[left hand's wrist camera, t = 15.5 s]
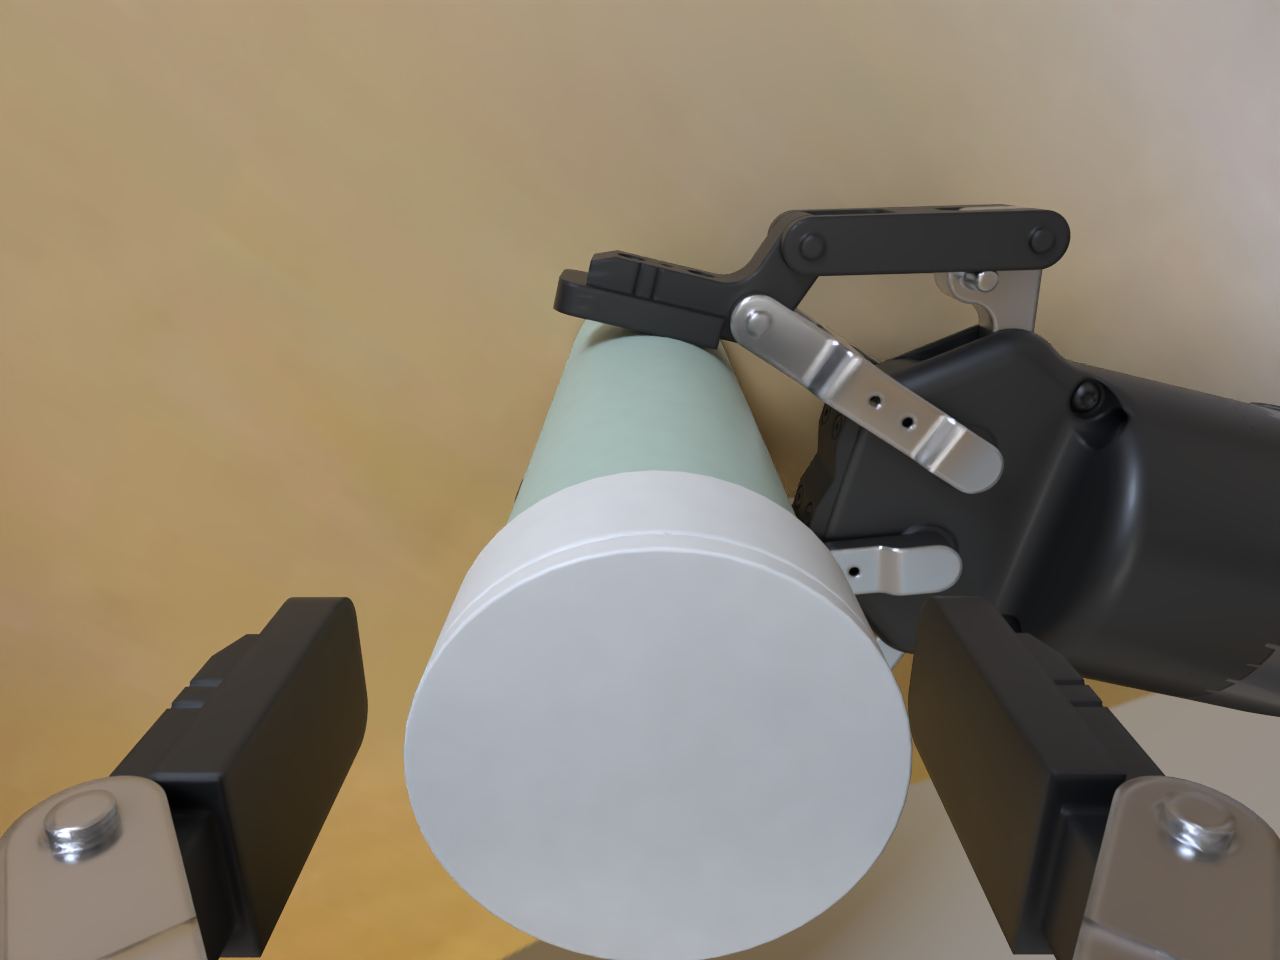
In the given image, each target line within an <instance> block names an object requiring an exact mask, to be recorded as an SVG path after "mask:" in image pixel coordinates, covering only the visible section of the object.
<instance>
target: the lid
mask: <svg viewBox="0 0 1280 960" xmlns="http://www.w3.org/2000/svg"><path fill="white" fill-rule="evenodd" d="M404 767H405V780H406V784H407V789H408V794H409V798H410V803H411V807H412V809H413V812H414V815H415V817H416V820H417V822H418V825H419V828H420V830H421V832H422V834H423V836H424V838H425V839H426V841H427V843H428V845H429V847H430V848H431V850H432V852H433V854H434V855H435V857H436V858H437V859H438V861H439V862H440V863H441V864H442V866H443V867H444V868H445V870H446V871H447V872H448V874H449V875H450V876H451V877H452V878H453V879H454V880H455V881H456V882H457V883H458V884H459V885H460V886H461V887H462V889H463V890H464V891H465V892H466V893H467V894H468V895H469V896H470V897H472V898H473V899H474V900H476V901H477V902H478V903H479V904H481V905H482V906H483V907H484V908H486V909H487V910H488V911H489V912H491V913H492V914H493V915H495V916H497V917H498V918H500V919H502V920H503V921H505V922H507V923H508V924H510V925H511V926H513V927H515V928H516V929H518V930H520V931H522V932H525V933H527V934H529V935H531V936H533V937H535V938H537V939H539V940H541V941H544V942H547V943H549V944H552V945H555V946H558V947H561V948H564V949H567V950H569V951H573V952H577V953H581V954H585V955H590V956H594V957H598V958H604V959H611V960H702V959H709V958H716V957H720V956H724V955H728V954H732V953H736V952H740V951H744V950H748V949H750V948H753V947H756V946H759V945H761V944H764V943H767V942H770V941H772V940H775V939H777V938H779V937H781V936H783V935H785V934H787V933H789V932H791V931H793V930H795V929H797V928H799V927H801V926H803V925H804V924H806V923H808V922H809V921H811V920H812V919H814V918H816V917H817V916H819V915H820V914H822V913H823V912H825V911H826V910H828V909H829V908H830V907H831V906H832V905H834V904H835V903H836V902H837V901H839V900H840V899H841V898H842V897H844V896H845V895H846V894H847V893H848V892H849V891H850V890H851V889H852V888H853V887H854V886H855V885H856V884H857V883H858V882H859V881H860V880H861V879H862V878H863V877H864V876H865V875H866V874H867V872H868V871H869V870H870V868H871V867H872V866H873V864H874V863H875V862H876V860H877V859H878V858H879V856H880V855H881V853H882V852H883V851H884V849H885V847H886V845H887V843H888V841H889V840H890V838H891V836H892V834H893V832H894V830H895V829H896V827H897V824H898V821H899V818H900V816H901V813H902V810H903V808H904V805H905V802H906V797H907V792H908V787H909V783H910V778H911V769H912V738H911V730H910V722H909V716H908V713H907V710H906V706H905V703H904V699H903V696H902V692H901V690H900V688H899V686H898V683H897V681H896V679H895V677H894V675H893V673H892V671H891V669H890V667H889V665H888V662H887V660H886V658H885V656H884V654H883V652H882V650H881V648H880V646H879V644H878V642H877V640H876V638H875V636H874V634H873V632H872V630H871V627H870V625H869V623H868V621H867V619H866V617H865V615H864V613H863V611H862V609H861V607H860V605H859V603H858V601H857V599H856V597H855V595H854V592H853V590H852V588H851V586H850V584H849V582H848V580H847V578H846V576H845V574H844V572H843V570H842V569H841V567H840V566H839V564H838V563H837V561H836V560H835V558H834V557H833V555H832V554H831V552H830V551H829V549H828V548H827V547H826V546H825V545H824V544H823V543H822V541H821V540H820V539H819V538H818V537H817V536H816V535H815V534H814V533H813V531H812V530H811V529H809V528H808V527H807V526H806V525H805V524H803V523H802V522H801V521H800V520H799V519H797V518H796V517H795V516H794V515H793V514H791V513H790V512H789V511H787V510H786V509H784V508H782V507H781V506H779V505H778V504H776V503H774V502H773V501H771V500H770V499H768V498H766V497H764V496H762V495H760V494H758V493H756V492H753V491H751V490H749V489H747V488H745V487H742V486H740V485H737V484H734V483H730V482H727V481H724V480H721V479H717V478H714V477H710V476H704V475H699V474H693V473H687V472H678V471H657V470H650V471H637V472H623V473H618V474H613V475H608V476H603V477H598V478H594V479H591V480H588V481H585V482H582V483H579V484H576V485H573V486H570V487H567V488H565V489H563V490H561V491H559V492H557V493H554V494H552V495H550V496H548V497H546V498H544V499H542V500H540V501H539V502H537V503H536V504H534V505H533V506H531V507H530V508H528V509H527V510H525V511H523V512H522V513H520V514H519V515H518V516H516V517H515V518H514V519H513V520H512V521H511V522H509V523H508V524H507V525H506V526H505V527H504V528H503V529H501V530H500V531H499V532H498V533H497V534H496V535H495V536H494V537H493V539H492V540H491V541H490V542H489V543H488V544H487V545H486V547H485V548H484V549H483V550H482V551H481V552H480V554H479V555H478V557H477V558H476V560H475V562H474V563H473V565H472V566H471V568H470V569H469V571H468V572H467V574H466V576H465V578H464V580H463V583H462V585H461V587H460V589H459V592H458V594H457V596H456V598H455V601H454V603H453V605H452V608H451V610H450V612H449V615H448V617H447V619H446V622H445V624H444V626H443V629H442V631H441V634H440V636H439V638H438V641H437V643H436V645H435V648H434V650H433V652H432V655H431V657H430V659H429V662H428V664H427V666H426V669H425V671H424V674H423V676H422V678H421V681H420V683H419V685H418V688H417V690H416V692H415V695H414V698H413V701H412V705H411V709H410V712H409V716H408V720H407V723H406V733H405V742H404Z"/></svg>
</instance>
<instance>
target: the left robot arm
mask: <svg viewBox="0 0 1280 960" xmlns="http://www.w3.org/2000/svg"><path fill="white" fill-rule="evenodd" d="M367 712H368V700H367V691H366V683H365V676H364V668H363V661H362V654H361V646H360V639H359V631H358V624H357V617H356V611H355V607H354V605H353V603H352V601H351V600H350V599H349V598H347V597H292V598H289V599H288V600H287V601H286V602H285V603H284V604H283V605H282V607H281V608H280V609H279V610H278V612H277V613H276V614H275V615H274V617H273V618H272V619H271V620H270V622H269V623H268V624H267V625H266V627H265V628H264V629H263V630H262V632H261V633H260V634H246V635H245V636H243V637H242V638H240V639H238V640H237V641H235V642H234V643H232V644H231V645H229V646H227V647H226V648H224V649H223V650H221V651H219V652H218V653H216V654H215V655H213V656H212V657H211V658H210V659H209V660H208V661H207V663H206V664H205V665H204V666H203V667H202V668H201V670H200V671H199V672H198V673H197V674H196V675H195V677H194V678H193V679H192V680H191V681H190V687H185V688H184V689H183V691H182V692H181V693H180V694H179V695H178V696H177V698H176V699H175V700H174V701H173V702H172V707H171V709H166V710H165V712H164V713H163V714H162V715H161V716H160V717H159V719H158V720H157V721H156V722H155V723H154V724H153V726H152V727H151V728H150V729H149V730H148V731H147V733H146V734H145V735H144V736H143V737H142V738H141V740H140V741H139V742H138V743H137V744H136V745H135V747H134V748H133V749H132V750H131V751H130V752H129V754H128V755H127V756H126V757H125V758H124V759H123V761H122V762H121V763H120V764H119V765H118V766H117V768H116V769H115V770H114V771H113V772H112V773H111V775H110V776H109V777H105V778H100V779H95V780H91V781H88V782H84V783H81V784H78V785H75V786H73V787H70V788H67V789H65V790H63V791H61V792H58V793H56V794H54V795H52V796H50V797H49V798H47V799H45V800H43V801H42V802H40V803H38V804H37V805H35V806H34V807H32V808H31V809H29V810H28V811H26V812H25V813H24V814H23V815H22V816H21V817H19V818H18V819H17V820H16V821H15V822H14V823H13V824H12V825H11V826H10V827H9V828H8V829H7V830H6V832H5V833H4V835H3V836H2V837H1V839H0V960H218V959H219V957H261V955H262V953H263V951H264V949H265V947H266V944H267V942H268V940H269V938H270V936H271V934H272V932H273V930H274V928H275V925H276V923H277V921H278V919H279V917H280V915H281V913H282V911H283V909H284V906H285V904H286V902H287V900H288V898H289V896H290V894H291V892H292V890H293V887H294V885H295V883H296V881H297V879H298V877H299V875H300V873H301V871H302V868H303V866H304V864H305V862H306V860H307V858H308V856H309V854H310V852H311V850H312V847H313V845H314V843H315V841H316V839H317V837H318V835H319V833H320V831H321V828H322V826H323V824H324V822H325V820H326V818H327V816H328V814H329V812H330V809H331V807H332V805H333V803H334V801H335V799H336V797H337V795H338V793H339V790H340V788H341V786H342V784H343V782H344V780H345V778H346V776H347V774H348V771H349V769H350V767H351V765H352V763H353V761H354V759H355V757H356V755H357V753H358V750H359V748H360V746H361V744H362V741H363V738H364V734H365V729H366V723H367ZM908 715H909V722H910V729H911V734H912V737H913V740H914V743H915V745H916V748H917V750H918V752H919V754H920V756H921V758H922V760H923V763H924V765H925V767H926V769H927V771H928V773H929V775H930V778H931V780H932V782H933V784H934V786H935V788H936V790H937V793H938V795H939V797H940V799H941V801H942V803H943V805H944V807H945V810H946V812H947V814H948V816H949V818H950V820H951V822H952V825H953V827H954V829H955V831H956V833H957V835H958V837H959V840H960V842H961V844H962V846H963V848H964V850H965V852H966V854H967V857H968V859H969V861H970V863H971V865H972V867H973V869H974V872H975V874H976V876H977V878H978V880H979V882H980V884H981V886H982V889H983V891H984V893H985V895H986V897H987V899H988V901H989V904H990V906H991V908H992V910H993V912H994V914H995V916H996V919H997V921H998V923H999V925H1000V927H1001V929H1002V931H1003V933H1004V936H1005V938H1006V940H1007V942H1008V944H1009V946H1010V948H1011V951H1012V953H1013V954H1054V956H1055V958H1056V960H1280V839H1279V837H1278V836H1277V835H1276V833H1275V832H1274V830H1273V829H1272V828H1271V827H1270V826H1269V825H1268V824H1267V823H1266V822H1265V821H1264V820H1263V819H1262V818H1261V817H1259V816H1258V815H1257V814H1256V813H1255V812H1254V811H1252V810H1251V809H1249V808H1248V807H1246V806H1245V805H1243V804H1242V803H1240V802H1238V801H1237V800H1235V799H1233V798H1231V797H1230V796H1228V795H1226V794H1224V793H1222V792H1219V791H1217V790H1215V789H1213V788H1210V787H1207V786H1205V785H1202V784H1199V783H1196V782H1192V781H1189V780H1185V779H1180V778H1175V777H1167V776H1165V775H1164V774H1163V772H1162V771H1161V770H1160V769H1159V768H1158V767H1157V765H1156V764H1155V763H1154V762H1153V761H1152V759H1151V758H1150V757H1149V756H1148V755H1147V754H1146V752H1145V751H1144V750H1143V749H1142V748H1141V746H1140V745H1139V744H1138V743H1137V742H1136V741H1135V739H1134V738H1133V737H1132V736H1131V735H1130V733H1129V732H1128V731H1127V730H1126V729H1125V728H1124V726H1123V725H1122V724H1121V723H1120V722H1119V721H1118V719H1117V718H1116V717H1115V716H1114V715H1113V713H1112V712H1111V711H1110V710H1109V709H1108V708H1107V707H1103V706H1102V700H1101V699H1100V698H1099V697H1098V696H1097V695H1096V693H1095V692H1094V691H1093V690H1092V689H1091V688H1090V686H1089V685H1085V684H1084V679H1083V678H1082V677H1081V676H1080V675H1079V673H1078V672H1077V671H1076V670H1075V669H1074V668H1073V666H1072V665H1071V664H1070V663H1069V662H1068V660H1067V659H1066V658H1065V657H1064V656H1063V655H1062V654H1061V653H1059V652H1058V651H1056V650H1054V649H1053V648H1051V647H1050V646H1048V645H1047V644H1045V643H1043V642H1042V641H1040V640H1039V639H1037V638H1035V637H1034V636H1032V635H1031V634H1029V633H1015V632H1014V631H1013V629H1012V628H1011V627H1010V626H1009V624H1008V623H1007V622H1006V620H1005V619H1004V618H1003V617H1002V615H1001V614H1000V613H999V612H998V610H997V609H996V608H995V607H994V605H993V604H992V603H991V601H990V600H989V599H988V598H986V597H985V596H927V597H926V598H925V599H924V600H923V602H922V605H921V608H920V612H919V619H918V626H917V634H916V641H915V649H914V656H913V664H912V672H911V679H910V687H909V695H908Z"/></svg>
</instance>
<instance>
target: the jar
mask: <svg viewBox="0 0 1280 960" xmlns="http://www.w3.org/2000/svg"><path fill="white" fill-rule="evenodd" d="M650 470H657V471H678V472H687V473H693V474H699V475H704V476H710V477H714V478H717V479H721V480H724V481H727V482H730V483H734V484H737V485H740V486H742V487H745V488H747V489H749V490H751V491H753V492H756V493H758V494H760V495H762V496H764V497H766V498H768V499H770V500H771V501H773V502H774V503H776V504H778V505H779V506H781V507H782V508H784V509H786V510H787V511H789V512H790V513H791V514H793V515H794V516H795V517H796V515H795V513H794V510H793V508H792V506H791V503H790V501H789V499H788V496H787V494H786V492H785V489H784V487H783V485H782V482H781V480H780V478H779V475H778V473H777V471H776V468H775V466H774V464H773V461H772V459H771V457H770V454H769V452H768V450H767V447H766V445H765V443H764V440H763V438H762V436H761V433H760V431H759V429H758V426H757V424H756V422H755V419H754V417H753V415H752V412H751V410H750V408H749V405H748V403H747V401H746V398H745V396H744V394H743V391H742V389H741V387H740V384H739V382H738V380H737V378H736V375H735V373H734V371H733V368H732V366H731V364H730V361H729V359H728V357H727V354H726V352H725V350H724V347H723V345H722V343H721V340H720V341H719V345H718V349H717V350H716V349H711V348H707V347H703V346H699V345H694V344H690V343H686V342H683V341H680V340H676V339H671V338H666V337H660V336H656V335H652V334H647V333H643V332H639V331H634V330H630V329H626V328H622V327H617V326H613V325H609V324H604V323H600V322H596V321H592V320H587V319H586V321H585V322H584V323H583V325H582V326H581V328H580V330H579V332H578V334H577V336H576V339H575V342H574V344H573V347H572V350H571V352H570V355H569V358H568V361H567V363H566V366H565V369H564V371H563V374H562V377H561V379H560V382H559V385H558V387H557V390H556V393H555V396H554V398H553V401H552V404H551V406H550V409H549V412H548V414H547V417H546V420H545V423H544V425H543V428H542V431H541V433H540V436H539V439H538V441H537V444H536V447H535V449H534V452H533V455H532V458H531V460H530V463H529V466H528V468H527V471H526V474H525V476H524V479H523V482H522V485H521V487H520V490H519V493H518V495H517V498H516V501H515V503H514V506H513V509H512V512H511V514H510V517H509V520H508V522H507V524H508V523H509V522H511V521H512V520H513V519H514V518H515V517H516V516H518V515H519V514H520V513H522V512H523V511H525V510H527V509H528V508H530V507H531V506H533V505H534V504H536V503H537V502H539V501H540V500H542V499H544V498H546V497H548V496H550V495H552V494H554V493H557V492H559V491H561V490H563V489H565V488H567V487H570V486H573V485H576V484H579V483H582V482H585V481H588V480H591V479H594V478H598V477H603V476H608V475H613V474H618V473H623V472H637V471H650ZM796 518H797V517H796Z"/></svg>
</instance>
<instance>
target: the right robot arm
mask: <svg viewBox="0 0 1280 960" xmlns="http://www.w3.org/2000/svg"><path fill="white" fill-rule="evenodd" d="M1069 242H1070V229H1069V226H1068V223H1067V221H1066V220H1065V219H1064V218H1063V216H1061V215H1060V214H1059V213H1056V212H1054V211H1050V210H1043V209H1034V208H1027V207H1019V206H1011V205H1003V204H991V205H956V206H922V207H888V208H853V209H819V210H792V211H787V212H784V213H782V214H780V215H779V216H778V217H777V218H776V219H775V220H774V221H773V222H772V224H771V226H770V228H769V231H768V236H767V237H766V239H765V240H764V242H763V243H762V245H761V246H760V247H759V249H758V250H757V252H756V253H755V255H754V256H753V258H752V259H751V260H750V262H749V263H748V264H747V265H746V266H745V267H743V268H742V269H740V270H739V271H737V272H734V273H731V274H725V275H719V274H714V273H709V272H705V271H701V270H697V269H693V268H689V267H684V266H680V265H676V264H672V263H668V262H664V261H659V260H655V259H651V258H647V257H642V256H639V255H635V254H631V253H626V252H622V251H618V250H616V251H610V252H603V253H597V254H594V256H593V258H592V260H591V263H590V267H589V272H583V271H578V270H571V269H565V270H564V271H563V272H562V274H561V275H560V277H559V282H558V287H557V292H556V297H555V302H554V307H553V308H554V309H555V310H557V311H559V312H561V313H564V314H567V315H570V316H574V317H579V318H583V319H587V320H592V321H596V322H600V323H604V324H609V325H613V326H617V327H622V328H626V329H630V330H634V331H639V332H643V333H647V334H652V335H656V336H660V337H666V338H671V339H676V340H680V341H683V342H686V343H690V344H694V345H699V346H703V347H707V348H711V349H716V350H717V349H718V345H719V341H720V339H723V340H727V341H732V342H736V343H739V344H740V345H741V346H742V347H744V348H745V349H747V350H749V351H750V352H752V353H753V354H755V355H756V356H758V357H760V358H761V359H763V360H764V361H766V362H767V363H769V364H770V365H772V366H774V367H775V368H777V369H778V370H780V371H781V372H783V373H784V374H786V375H788V376H789V377H791V378H792V379H794V380H795V381H797V382H798V383H800V384H801V385H803V386H804V387H806V388H807V389H808V390H809V391H811V392H812V393H813V394H814V395H815V396H817V397H818V398H819V399H821V400H822V401H823V402H825V404H824V407H823V411H822V414H821V417H820V420H819V433H818V451H817V454H816V456H815V457H814V459H813V460H812V462H811V463H810V465H809V467H808V468H807V470H806V471H805V473H804V474H803V476H802V477H801V479H800V482H799V485H798V489H797V492H796V495H795V497H791V498H788V499H789V501H790V503H791V506H792V508H793V510H794V513H795V515H796V517H797V519H799V520H800V521H801V522H802V523H803V524H805V525H806V526H807V527H808V528H809V529H811V530H812V531H813V533H814V534H815V535H816V536H817V537H818V538H819V539H820V540H821V541H822V543H823V544H824V545H825V546H826V547H827V548H828V549H829V551H830V552H831V554H832V555H833V557H834V558H835V560H836V561H837V563H838V564H839V566H840V567H841V569H842V570H843V572H844V574H845V576H846V578H847V580H848V582H849V584H850V586H851V588H852V590H853V592H854V595H855V597H856V599H857V601H858V603H859V605H860V607H861V609H862V611H863V613H864V615H865V617H866V619H867V621H868V623H869V625H870V627H871V630H872V632H873V634H874V636H875V638H876V640H877V642H878V644H879V646H880V648H881V650H882V652H883V654H884V656H885V658H886V660H887V662H888V665H889V667H890V669H891V671H892V670H893V668H894V667H895V666H896V664H897V663H898V662H899V660H900V659H901V658H902V656H903V655H904V654H905V653H910V654H914V649H915V641H916V634H917V626H918V619H919V612H920V608H921V605H922V602H923V600H924V599H925V598H926V597H927V596H985V597H986V598H988V599H989V600H990V601H991V603H992V604H993V605H994V607H995V608H996V609H997V610H998V612H999V613H1000V614H1001V615H1002V617H1003V618H1004V619H1005V620H1006V622H1007V623H1008V624H1009V626H1010V627H1011V628H1012V629H1013V631H1014V632H1015V633H1029V634H1031V635H1032V636H1034V637H1035V638H1037V639H1039V640H1040V641H1042V642H1043V643H1045V644H1047V645H1048V646H1050V647H1051V648H1053V649H1054V650H1056V651H1058V652H1059V653H1061V654H1062V655H1063V656H1064V657H1065V658H1066V659H1067V660H1068V662H1069V663H1070V664H1071V665H1072V666H1073V668H1074V669H1075V670H1076V671H1077V672H1078V673H1079V675H1080V676H1081V677H1083V678H1088V679H1092V680H1097V681H1102V682H1107V683H1112V684H1116V685H1121V686H1126V687H1131V688H1136V689H1141V690H1145V691H1150V692H1155V693H1160V694H1165V695H1170V696H1175V697H1179V698H1184V699H1189V700H1194V701H1198V702H1203V703H1208V704H1212V705H1217V706H1222V707H1227V708H1231V709H1236V710H1241V711H1246V712H1252V713H1258V714H1264V715H1270V716H1277V717H1280V406H1276V405H1271V404H1264V403H1250V404H1248V403H1244V402H1240V401H1236V400H1232V399H1228V398H1223V397H1219V396H1215V395H1211V394H1207V393H1202V392H1198V391H1194V390H1190V389H1186V388H1181V387H1177V386H1173V385H1169V384H1165V383H1161V382H1156V381H1152V380H1148V379H1144V378H1140V377H1135V376H1131V375H1127V374H1123V373H1119V372H1115V371H1110V370H1106V369H1102V368H1098V367H1094V366H1089V365H1085V364H1081V363H1077V362H1073V361H1069V360H1066V359H1065V358H1063V357H1062V356H1061V355H1060V354H1059V353H1058V352H1057V351H1056V350H1055V349H1054V348H1053V347H1052V346H1051V345H1050V343H1048V342H1047V341H1046V340H1045V339H1044V338H1042V337H1041V336H1039V335H1037V334H1035V333H1034V326H1035V319H1036V311H1037V304H1038V297H1039V289H1040V282H1041V275H1042V269H1045V268H1048V267H1050V266H1052V265H1053V264H1055V263H1056V262H1057V261H1059V260H1060V259H1061V258H1062V256H1063V255H1064V254H1065V252H1066V250H1067V248H1068V245H1069ZM908 273H935V281H936V284H937V286H938V288H939V289H940V290H941V291H942V292H943V293H944V294H946V295H948V296H950V297H952V298H954V299H956V300H959V301H961V302H964V303H968V304H972V305H973V306H974V307H975V309H976V310H977V313H978V317H979V324H977V325H975V326H972V327H970V328H967V329H965V330H962V331H960V332H957V333H955V334H952V335H950V336H947V337H944V338H942V339H939V340H937V341H934V342H932V343H929V344H927V345H924V346H922V347H919V348H917V349H914V350H912V351H909V352H907V353H904V354H902V355H899V356H897V357H894V358H892V359H889V360H886V361H884V362H879V361H877V360H876V359H874V358H873V357H871V356H870V355H868V354H867V353H865V352H864V351H862V350H861V349H859V348H858V347H856V346H855V345H853V344H852V343H850V342H849V341H847V340H846V339H844V338H843V337H841V336H840V335H838V334H837V333H835V332H834V331H832V330H831V329H829V328H828V327H826V326H824V325H823V324H821V323H819V322H817V321H816V320H814V319H812V318H811V317H809V316H808V315H806V314H805V313H803V312H802V311H800V310H799V309H797V308H796V307H797V306H798V304H799V303H800V302H801V300H802V299H803V297H804V296H805V295H806V293H807V292H808V290H809V289H810V288H811V286H812V285H813V283H814V282H815V281H816V279H817V278H818V276H837V275H873V274H908ZM522 482H523V480H522ZM522 482H521V484H520V487H521V485H522ZM520 487H519V490H520ZM519 490H518V492H517V495H518V493H519ZM517 495H516V498H517ZM516 498H515V501H516Z"/></svg>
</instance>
